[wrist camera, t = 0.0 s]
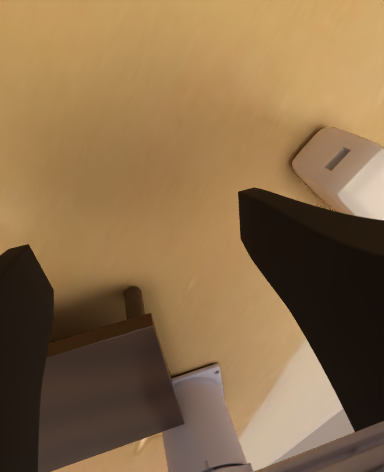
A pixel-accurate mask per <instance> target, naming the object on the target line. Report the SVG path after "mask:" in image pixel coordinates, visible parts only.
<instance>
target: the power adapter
mask: <svg viewBox="0 0 384 472" xmlns="http://www.w3.org/2000/svg"><path fill="white" fill-rule="evenodd" d="M292 167H293V170H294V171H295V173H296V174H297V175H298V176H299V177H300V178H301V179H302V180H303V181H304V182H305V183H306V184H307V185H308V186H309V187H310V188H311V189H312V190H313V191H314V192H315V193H316V194H317V195H318V196H319V197H320V198H321V199H322V200H323V201H325V202H326V203H327V204H328V205H330V206H331V207H332V208H334V209H335V210H337V211H338V212H340V213H344V214H349V215H355V216H360V217H365V218H371V219H378V220H384V147H382V146H381V145H379V144H377V143H375V142H373V141H371V140H368V139H366V138H363V137H360V136H358V135H355V134H352V133H349V132H346V131H344V130H340V129H337V128H334V127H330V126H329V127H326V128H322V129H321V130H320V131H318V132H317V133H316V134H315V135H314V136H313V137H312V139H311V140H310V141H309V142H308V143H307V144H306V145H305V146H304V147H303V149H302V150H301V151H300V152H299V153H298V154H297V156H296V157H295V158H294V160H293V161H292Z"/></svg>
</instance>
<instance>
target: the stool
mask: <svg viewBox="0 0 384 472" xmlns="http://www.w3.org/2000/svg"><path fill="white" fill-rule="evenodd" d="M124 299H125V308H126V317H127V320H125V321H122V322H118V323H115V324H112V325H108V326H105V327H102V328H98V329H95V330H91V331H88V332H85V333H81V334H78V335H75V336H71V337H68V338H65V339H61V340H58V341H54V342H51V343H49V346H48V352H47V358H46V363H45V369H44V375H43V381H42V390H41V402H40V419H39V447H38V472H51V471H53V470H56V469H59V468H62V467H65V466H67V465H70V464H73V463H76V462H79V461H82V460H84V459H87V458H90V457H93V456H96V455H98V454H101V453H104V452H107V451H110V450H112V449H115V448H118V447H121V446H124V445H126V444H129V443H132V442H135V441H138V440H141V439H143V438H146V437H149V436H152V435H155V434H157V433H160V432H163V431H166V430H169V429H171V428H174V427H177V426H180V425H183V424H184V419H183V415H182V411H181V408H180V404H179V401H178V398H177V395H176V392H175V388H174V385H173V382H172V379H171V376H170V372H169V369H168V366H167V363H166V360H165V356H164V353H163V350H162V347H161V344H160V340H159V337H158V334H157V331H156V328H155V324H154V321H153V318H152V315H151V313H149V314H145V309H144V303H143V298H142V292H141V290H140V289H139V288H138V287H129V288H127V289H126V290H125V292H124Z"/></svg>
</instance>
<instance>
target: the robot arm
mask: <svg viewBox="0 0 384 472" xmlns="http://www.w3.org/2000/svg"><path fill="white" fill-rule="evenodd" d="M238 198H239V216H240V234H241V240H242V242H243V244H244V246H245V248H246V250H247V252H248V253H249V255H250V257H251V259H252V260H253V262H254V263H255V265H256V266H257V267H258V269H259V270H260V271H261V273H262V274H263V275H264V277H265V278H266V279H267V281H268V282H269V283H270V285H271V286H272V287H273V289H274V290H275V291H276V293H277V294H278V295H279V297H280V298H281V299H282V301H283V302H284V303H285V305H286V306H287V308H288V309H289V310H290V312H291V313H292V315H293V317H294V318H295V320H296V322H297V323H298V325H299V327H300V328H301V330H302V332H303V334H304V335H305V337H306V339H307V340H308V342H309V344H310V346H311V348H312V349H313V351H314V353H315V355H316V357H317V358H318V360H319V362H320V364H321V366H322V368H323V369H324V371H325V373H326V375H327V377H328V379H329V381H330V383H331V385H332V387H333V388H334V390H335V392H336V394H337V396H338V398H339V400H340V402H341V404H342V406H343V408H344V410H345V412H346V414H347V416H348V418H349V421H350V423H351V425H352V427H353V429H354V431H355V432H354V433H352V434H349V435H347V436H344V437H342V438H339V439H337V440H334V441H331V442H329V443H326V444H324V445H321V446H319V447H316V448H314V449H311V450H309V451H306V452H303V453H301V454H298V455H296V456H293V457H291V458H288V459H286V460H283V461H281V462H278V463H275V464H273V465H270V466H268V467H265V468H263V469H260V470H258V471H255V472H384V220H378V219H371V218H365V217H360V216H355V215H349V214H344V213H340V212H335V211H331V210H328V209H324V208H320V207H316V206H313V205H310V204H306V203H303V202H300V201H297V200H293V199H290V198H287V197H284V196H281V195H278V194H275V193H272V192H269V191H266V190H262V189H258V188H251V189H247V190H243V191H239V192H238ZM53 310H54V290H53V288H52V286H51V284H50V283H49V281H48V279H47V277H46V275H45V273H44V272H43V270H42V268H41V266H40V264H39V262H38V261H37V259H36V257H35V255H34V253H33V251H32V250H31V248H30V246H29V244H27V245H23V246H19V247H15V248H11V249H8V250H7V251H6V252H4V253H3V254H2V255H0V472H38V447H39V419H40V402H41V390H42V381H43V375H44V369H45V363H46V358H47V352H48V346H49V340H50V334H51V328H52V322H53ZM172 382H173V385H174V388H175V392H176V395H177V398H178V401H179V404H180V408H181V411H182V415H183V419H184V424H183V425H180V426H177V427H174V428H171V429H169V430H166V431H163V432H162V436H163V442H164V448H165V453H166V459H167V465H168V471H169V472H253V469H252V466H251V464H250V463H248V464H247V462H246V459H245V456H244V454H243V451H242V448H241V445H240V442H239V440H238V437H237V434H236V431H235V429H234V426H233V423H232V420H231V417H230V415H229V412H228V409H227V406H226V404H225V398H224V391H223V384H222V377H221V370H220V366H219V365H218V364H214V365H211V366H208V367H205V368H202V369H199V370H196V371H193V372H190V373H187V374H184V375H181V376H178V377H175V378H172Z"/></svg>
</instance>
